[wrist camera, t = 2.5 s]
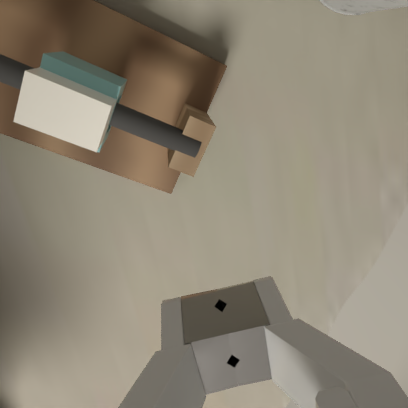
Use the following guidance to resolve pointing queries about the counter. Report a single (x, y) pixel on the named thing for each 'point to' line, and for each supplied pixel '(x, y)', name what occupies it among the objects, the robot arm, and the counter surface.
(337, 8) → the grey upright cylinder
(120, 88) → the sleeve
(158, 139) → the rail
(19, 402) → the counter surface
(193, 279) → the counter surface
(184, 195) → the counter surface
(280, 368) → the robot arm
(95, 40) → the rod slider board
